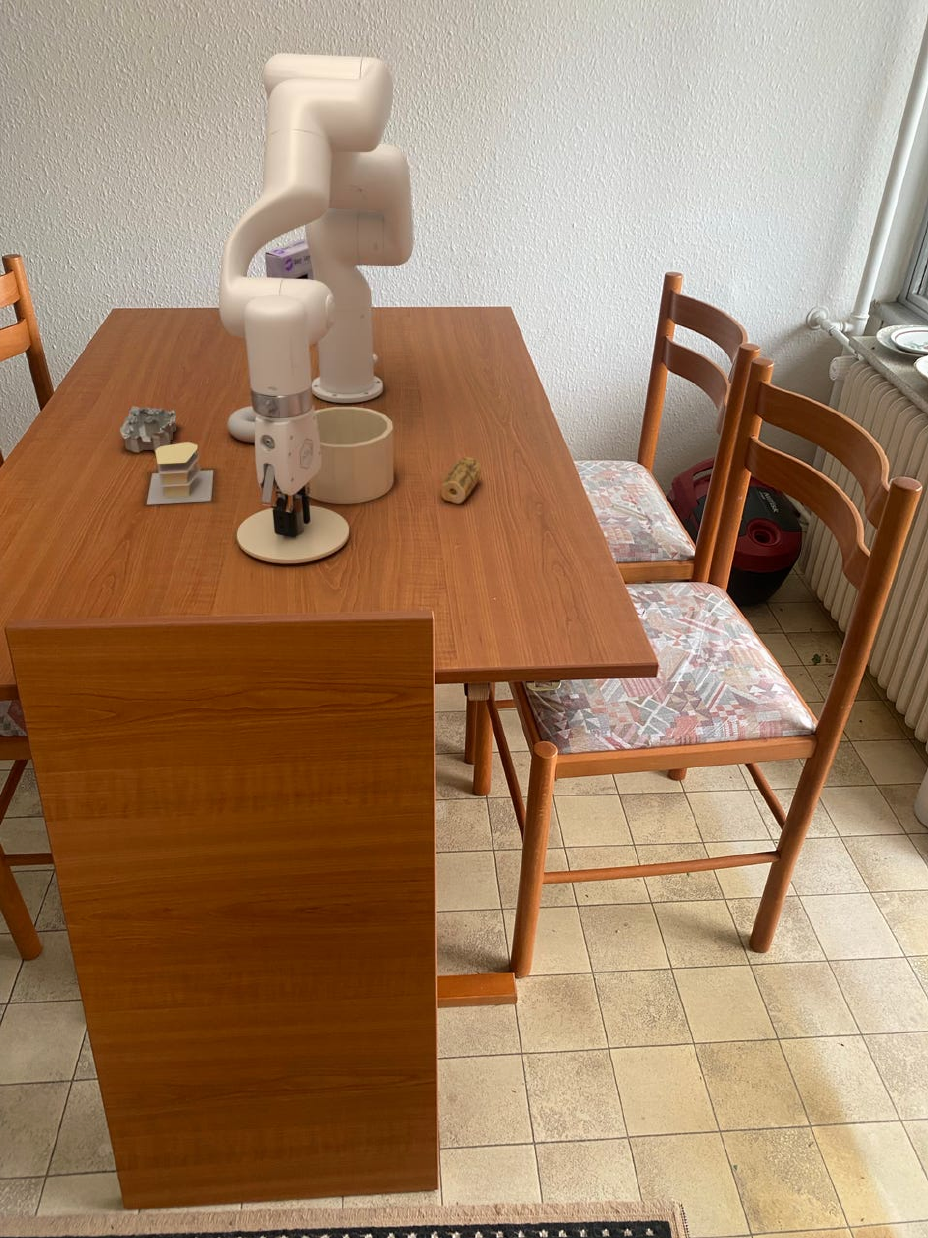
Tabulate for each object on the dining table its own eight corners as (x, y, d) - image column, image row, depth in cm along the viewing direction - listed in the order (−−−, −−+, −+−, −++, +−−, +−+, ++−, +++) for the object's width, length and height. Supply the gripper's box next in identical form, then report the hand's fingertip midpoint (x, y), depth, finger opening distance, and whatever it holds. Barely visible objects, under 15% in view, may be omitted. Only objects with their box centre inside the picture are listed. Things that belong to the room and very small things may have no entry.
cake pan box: (285, 348, 201) (278, 254, 191) (266, 342, 203) (258, 250, 193) (347, 322, 214) (343, 233, 204) (328, 317, 217) (324, 229, 207)
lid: (269, 504, 148) (265, 464, 144) (366, 522, 144) (364, 481, 141) (216, 555, 136) (211, 512, 132) (321, 576, 132) (318, 532, 129)
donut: (220, 428, 170) (239, 450, 162) (218, 408, 168) (236, 430, 160) (279, 418, 174) (299, 439, 166) (277, 398, 172) (297, 419, 164)
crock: (322, 455, 162) (319, 401, 156) (406, 469, 158) (406, 414, 153) (282, 494, 151) (278, 437, 145) (372, 510, 147) (370, 452, 142)
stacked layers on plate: (210, 501, 148) (206, 466, 145) (146, 504, 147) (140, 469, 144) (213, 470, 156) (209, 436, 153) (152, 473, 155) (146, 439, 152)
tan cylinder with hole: (465, 506, 149) (466, 481, 147) (437, 501, 150) (438, 476, 148) (482, 482, 155) (483, 457, 153) (456, 477, 156) (456, 453, 154)
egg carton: (168, 454, 161) (165, 429, 159) (119, 453, 161) (115, 429, 158) (181, 425, 170) (178, 401, 167) (135, 425, 169) (131, 401, 167)
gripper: (280, 428, 121) (291, 562, 132) (336, 380, 134) (342, 505, 145) (223, 419, 123) (238, 552, 134) (284, 372, 136) (294, 497, 147)
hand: (292, 526), depth 139 cm, fingers closed on lid, 3 cm apart
